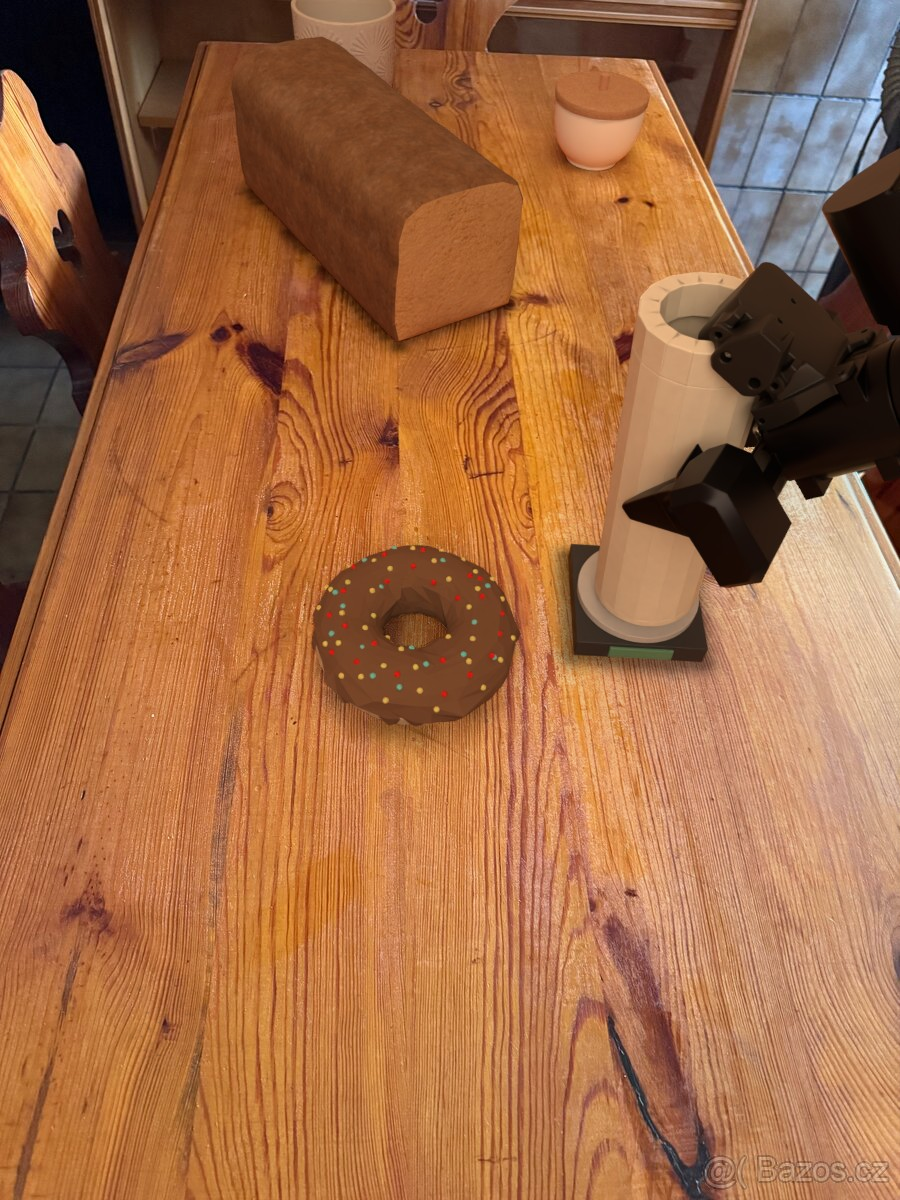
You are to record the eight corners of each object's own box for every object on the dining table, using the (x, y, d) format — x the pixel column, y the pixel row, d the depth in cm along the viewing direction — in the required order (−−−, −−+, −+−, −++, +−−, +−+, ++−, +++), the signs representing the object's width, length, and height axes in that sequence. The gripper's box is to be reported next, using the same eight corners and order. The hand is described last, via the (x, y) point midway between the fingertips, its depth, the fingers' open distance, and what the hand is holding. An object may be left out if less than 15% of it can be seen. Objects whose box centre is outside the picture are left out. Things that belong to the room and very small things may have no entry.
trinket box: (566, 130, 111) (578, 47, 104) (647, 152, 109) (665, 68, 101) (532, 165, 105) (543, 80, 98) (617, 189, 103) (634, 103, 95)
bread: (393, 350, 82) (393, 201, 71) (239, 185, 99) (219, 44, 88) (517, 308, 87) (535, 162, 76) (350, 158, 104) (345, 21, 93)
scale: (702, 664, 62) (711, 646, 60) (573, 657, 62) (578, 639, 60) (685, 564, 67) (693, 545, 66) (567, 557, 67) (572, 538, 66)
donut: (291, 604, 63) (284, 559, 59) (469, 558, 67) (474, 512, 63) (350, 776, 55) (347, 736, 51) (549, 713, 59) (560, 671, 55)
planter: (368, 74, 119) (366, -22, 110) (413, 112, 112) (414, 14, 104) (282, 90, 114) (273, -8, 106) (324, 130, 108) (318, 30, 100)
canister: (695, 633, 59) (783, 361, 42) (589, 618, 60) (633, 346, 43) (698, 555, 63) (780, 277, 46) (599, 542, 64) (643, 266, 47)
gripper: (896, 164, 44) (647, 289, 56) (775, 350, 34) (502, 454, 46) (979, 351, 48) (729, 431, 60) (891, 568, 38) (612, 613, 50)
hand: (651, 474), depth 54 cm, fingers closed on canister, 7 cm apart
